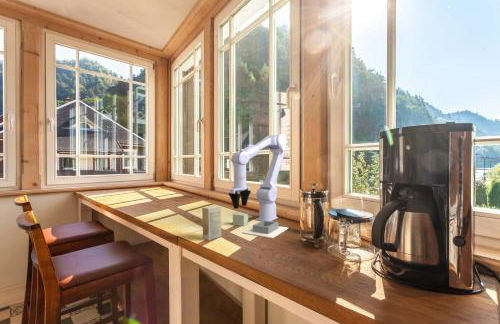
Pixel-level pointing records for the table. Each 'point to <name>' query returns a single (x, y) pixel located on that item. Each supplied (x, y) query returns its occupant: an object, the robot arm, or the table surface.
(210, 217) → the skincare box
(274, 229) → the slot holder
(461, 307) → the table surface
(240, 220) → the key block
